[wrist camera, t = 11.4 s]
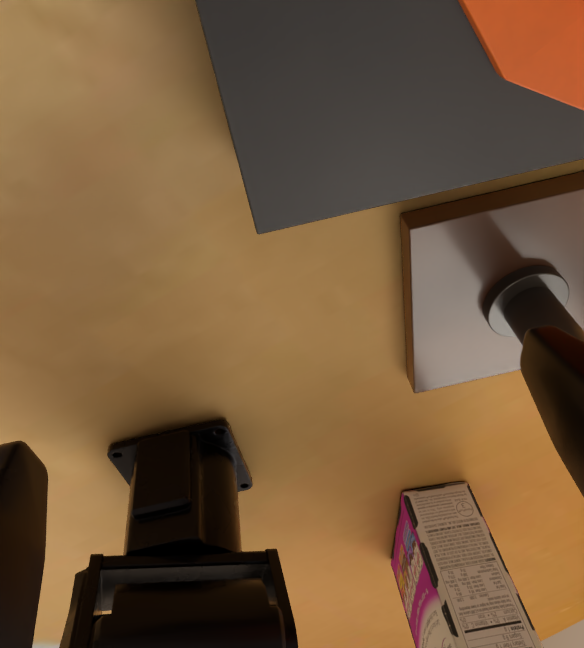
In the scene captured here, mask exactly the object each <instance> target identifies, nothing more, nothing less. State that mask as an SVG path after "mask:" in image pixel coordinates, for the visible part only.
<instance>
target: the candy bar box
mask: <svg viewBox="0 0 584 648" xmlns="http://www.w3.org/2000/svg"><path fill="white" fill-rule="evenodd" d="M391 566H392V569H393V572H394V575H395V578H396V582H397V585H398V589H399V592H400V595H401V599H402V602H403V606H404V609H405V613H406V616H407V619H408V623H409V626H410V629H411V633H412V636H413V639H414V643H415V646H416V648H543V646H542V644H541V641H540V639H539V637H538V635H537V633H536V631H535V629H534V627H533V625H532V623H531V620H530V618H529V616H528V614H527V612H526V610H525V607H524V605H523V603H522V601H521V599H520V596H519V594H518V591H517V589H516V587H515V585H514V583H513V581H512V578H511V577H510V575H509V572H508V570H507V568H506V566H505V563H504V561H503V559H502V557H501V555H500V552H499V550H498V548H497V546H496V544H495V541H494V539H493V537H492V535H491V532H490V530H489V528H488V526H487V524H486V521H485V519H484V517H483V515H482V513H481V511H480V508H479V506H478V504H477V502H476V499H475V497H474V495H473V493H472V491H471V489H470V486H469V484H468V483H467V482H457V483H449V484H444V485H439V486H433V487H428V488H423V489H416V490H410V491H405V492H403V493H402V495H401V502H400V509H399V516H398V523H397V530H396V536H395V542H394V548H393V554H392V560H391Z"/></svg>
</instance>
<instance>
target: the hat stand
mask: <svg viewBox="0 0 584 648" xmlns="http://www.w3.org/2000/svg"><path fill="white" fill-rule="evenodd" d="M400 219H401V242H402V264H403V287H404V310H405V333H406V355H407V377H408V380H409V382H410V385H411V387H412V389H413V392H414V393H419V392H424V391H428V390H433V389H437V388H442V387H446V386H450V385H455V384H459V383H464V382H468V381H472V380H477V379H481V378H486V377H490V376H495V375H499V374H503V373H508V372H512V371H517V370H521V368H520V357H521V352H522V346H523V341H524V336H525V333H526V331H527V330H528V329H530V328H534V327H539V326H544V325H553V326H555V327H557V328H559V329H561V330H563V331H565V332H567V333H569V334H571V335H572V336H574V337H576V338H578V339H580V340H582V341H584V171H583V172H579V173H575V174H570V175H566V176H562V177H557V178H553V179H549V180H544V181H540V182H536V183H532V184H527V185H523V186H519V187H514V188H510V189H506V190H501V191H497V192H493V193H489V194H484V195H480V196H476V197H471V198H467V199H463V200H458V201H454V202H450V203H445V204H441V205H437V206H433V207H428V208H424V209H420V210H415V211H411V212H407V213H402V214H401V215H400Z"/></svg>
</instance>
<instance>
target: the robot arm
mask: <svg viewBox="0 0 584 648" xmlns="http://www.w3.org/2000/svg"><path fill="white" fill-rule="evenodd" d="M520 368H521V372H522V375H523V377H524V379H525V382H526V384H527V386H528V388H529V391H530V393H531V395H532V397H533V400H534V402H535V404H536V406H537V409H538V411H539V413H540V415H541V418H542V420H543V422H544V425H545V427H546V429H547V431H548V434H549V436H550V438H551V440H552V442H553V444H554V446H555V448H556V450H557V452H558V454H559V456H560V457H561V459H562V461H563V463H564V464H565V466H566V468H567V469H568V471H569V473H570V475H571V476H572V478H573V480H574V481H575V483H576V485H577V486H578V488H579V490H580V492H581V493H582V495H583V497H584V341H582V340H580V339H578V338H576V337H574V336H572V335H571V334H569V333H567V332H565V331H563V330H561V329H559V328H557V327H555V326H553V325H544V326H539V327H534V328H530V329H528V330H527V331H526V333H525V336H524V341H523V346H522V352H521V357H520ZM108 457H109V459H110V460H111V461H112V463H113V464H114V465H115V467H116V468H117V469H118V471H119V472H120V473H121V475H122V476H123V477H124V479H125V480H126V481H127V483H128V484H129V485H130V494H129V504H128V514H127V524H126V534H125V544H124V553H123V555H121V556H103V554H91V557H90V562H89V567H87V569H85V570H83V571H81V572H79V573H77V574H75V580H74V586H73V592H72V598H71V604H70V609H69V614H68V618H67V621H66V625H65V629H64V632H63V636H62V640H61V643H60V647H59V648H298V641H297V634H296V628H295V623H294V618H293V614H292V610H291V606H290V602H289V597H288V593H287V589H286V585H285V581H284V577H283V573H282V568H281V564H280V560H279V556H278V552H277V549H266V550H265V551H252V552H242V550H241V535H240V521H239V506H238V492H239V491H244V490H248V489H250V488H251V487H252V477H251V475H250V473H249V470H248V468H247V466H246V463H245V461H244V459H243V457H242V454H241V452H240V450H239V447H238V445H237V443H236V441H235V438H234V436H233V434H232V431H231V429H230V427H229V425H228V423H227V422H226V421H224V420H215V421H211V422H206V423H202V424H198V425H193V426H189V427H184V428H180V429H176V430H171V431H167V432H162V433H158V434H154V435H149V436H145V437H140V438H136V439H132V440H127V441H123V442H118V443H114V444H111V445H110V446H109V448H108ZM47 491H48V474H47V470H46V467H45V465H44V464H43V463H42V462H41V460H40V459H39V458H38V457H37V456H36V455H35V453H34V452H33V451H32V450H31V449H30V447H29V446H28V445H27V444H26V443H25V442H22V441H15V442H10V443H6V444H1V445H0V648H32V644H33V637H34V630H35V623H36V617H37V610H38V603H39V597H40V590H41V583H42V576H43V569H44V561H45V547H46V519H47ZM108 610H112V613H111V614H103V615H102V611H108Z"/></svg>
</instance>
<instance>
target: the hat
mask: <svg viewBox="0 0 584 648" xmlns="http://www.w3.org/2000/svg"><path fill="white" fill-rule="evenodd" d="M458 2H459V3H460V5H461V7H462V9H463V11H464V13H465V15H466V17H467V18H468V20H469V22H470V24H471V26H472V28H473V30H474V32H475V33H476V35H477V37H478V39H479V41H480V43H481V45H482V47H483V48H484V50H485V52H486V54H487V56H488V58H489V60H490V62H491V63H492V65H493V67H494V69H495V71H496V73H497V74H498V75H499V76H501V77H502V78H503V79H505V80H507V81H509V82H512V83H514V84H517V85H519V86H522V87H525V88H527V89H530V90H532V91H535V92H537V93H540V94H543V95H545V96H548V97H550V98H553V99H555V100H558V101H560V102H563V103H566V104H568V105H571V106H573V107H576V108H578V109H581V110H583V111H584V0H458Z"/></svg>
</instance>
